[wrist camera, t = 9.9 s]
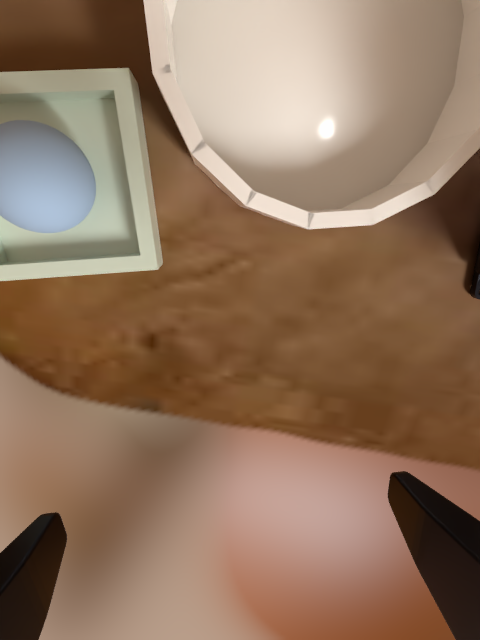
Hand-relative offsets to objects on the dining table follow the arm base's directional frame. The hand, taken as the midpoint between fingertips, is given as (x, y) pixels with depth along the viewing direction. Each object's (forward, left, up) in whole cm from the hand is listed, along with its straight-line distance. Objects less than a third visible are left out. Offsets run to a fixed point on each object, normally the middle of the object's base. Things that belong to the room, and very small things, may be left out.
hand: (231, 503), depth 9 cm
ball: (+7, -9, -10) cm, 15 cm away
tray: (+7, -9, -13) cm, 18 cm away
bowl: (-6, -14, -13) cm, 20 cm away
